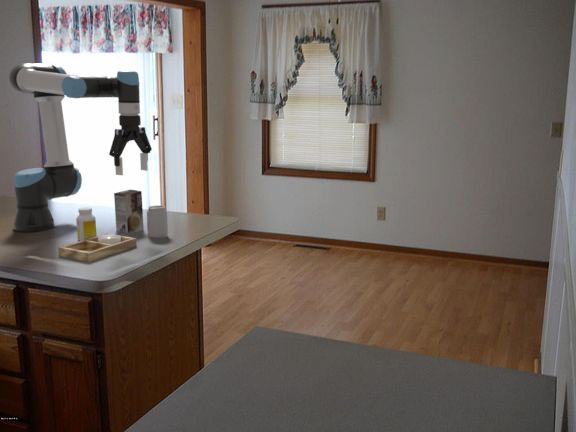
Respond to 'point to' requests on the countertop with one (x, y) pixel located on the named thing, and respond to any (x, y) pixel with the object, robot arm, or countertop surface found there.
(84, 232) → the supplement bottle
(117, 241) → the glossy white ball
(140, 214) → the coffee box
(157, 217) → the can
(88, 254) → the rack
